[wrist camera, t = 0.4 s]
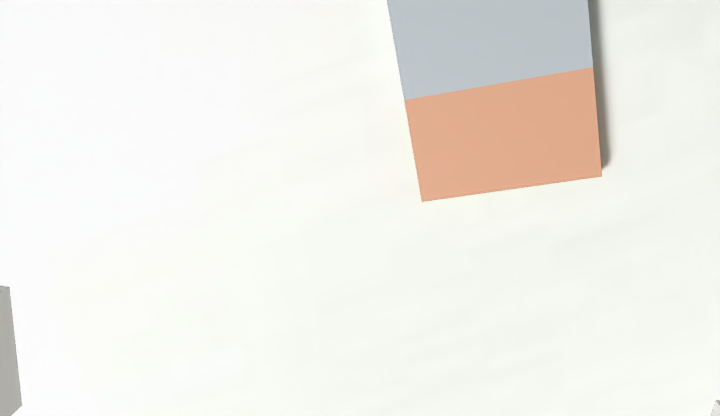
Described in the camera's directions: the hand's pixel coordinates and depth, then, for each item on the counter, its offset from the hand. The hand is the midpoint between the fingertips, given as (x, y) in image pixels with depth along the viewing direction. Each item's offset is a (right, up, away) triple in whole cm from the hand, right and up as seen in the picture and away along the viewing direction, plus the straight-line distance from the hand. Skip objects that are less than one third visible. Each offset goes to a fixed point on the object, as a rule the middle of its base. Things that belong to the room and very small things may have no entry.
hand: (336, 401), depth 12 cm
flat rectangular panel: (+7, +13, +22) cm, 27 cm away
